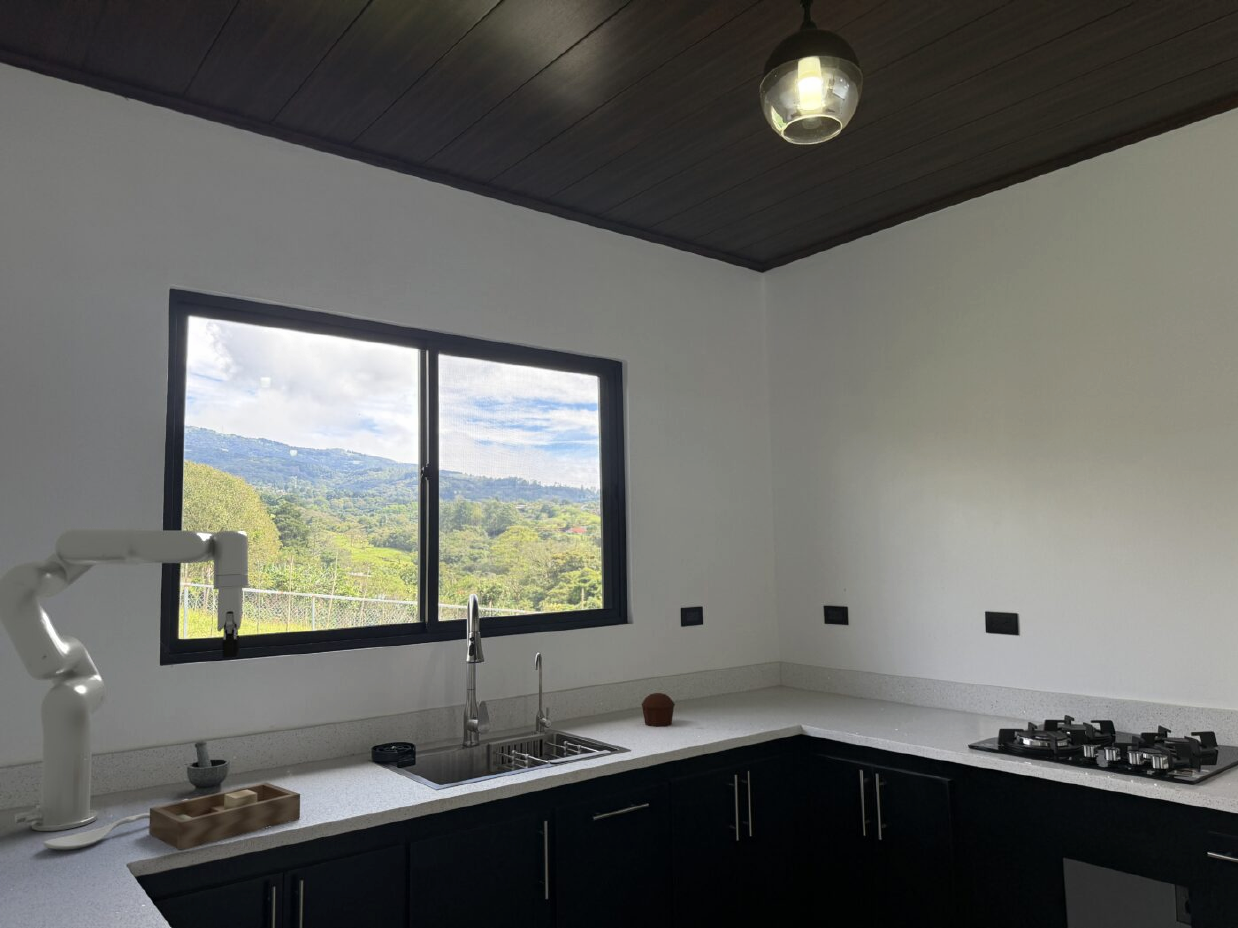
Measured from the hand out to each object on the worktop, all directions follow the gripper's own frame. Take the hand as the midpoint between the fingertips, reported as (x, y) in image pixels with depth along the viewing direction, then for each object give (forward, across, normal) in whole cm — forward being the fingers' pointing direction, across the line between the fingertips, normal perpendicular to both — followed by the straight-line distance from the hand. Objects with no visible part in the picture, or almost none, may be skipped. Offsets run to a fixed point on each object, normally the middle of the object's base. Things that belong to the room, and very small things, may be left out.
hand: (230, 654), depth 209 cm
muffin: (+39, -44, +130) cm, 142 cm away
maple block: (+33, +14, +2) cm, 36 cm away
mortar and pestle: (+36, -21, -6) cm, 42 cm away
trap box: (+36, +13, 0) cm, 38 cm away
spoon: (+36, +8, -20) cm, 42 cm away
